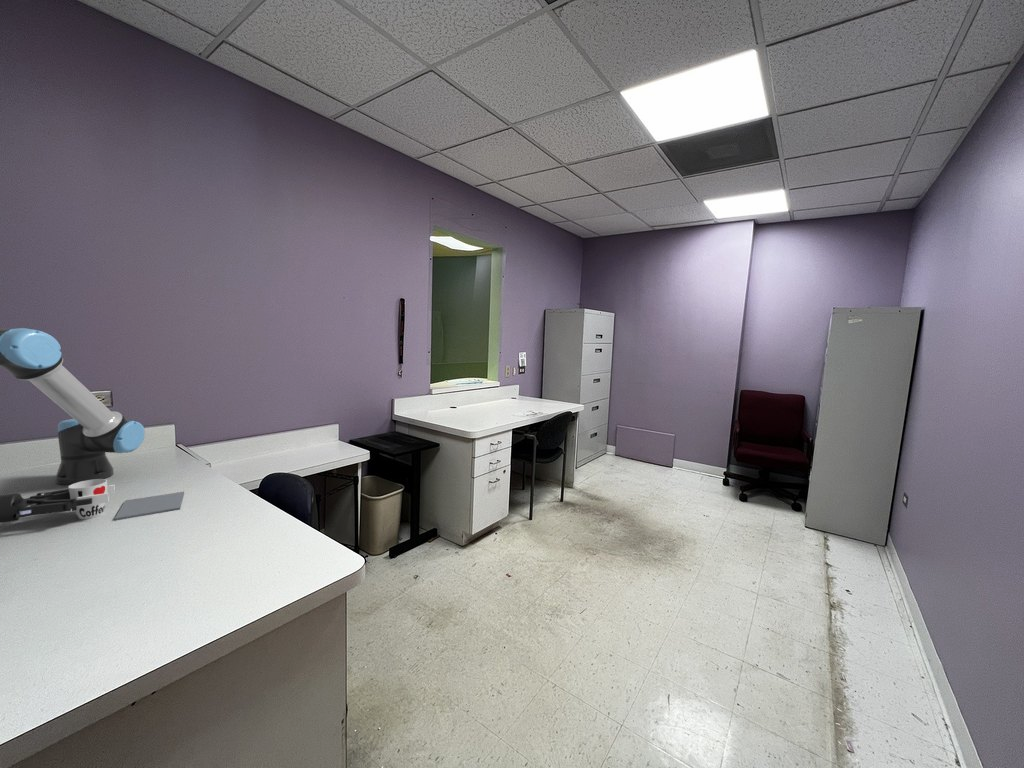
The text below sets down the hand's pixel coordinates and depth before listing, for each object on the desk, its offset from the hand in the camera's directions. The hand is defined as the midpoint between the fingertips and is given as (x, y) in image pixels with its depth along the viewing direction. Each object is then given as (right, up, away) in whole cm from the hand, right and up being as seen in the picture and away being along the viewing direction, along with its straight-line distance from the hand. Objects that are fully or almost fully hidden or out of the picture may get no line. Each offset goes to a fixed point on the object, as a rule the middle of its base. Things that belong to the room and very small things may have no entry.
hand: (111, 493), depth 126 cm
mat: (+7, -6, +6) cm, 11 cm away
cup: (-4, -6, -2) cm, 8 cm away
